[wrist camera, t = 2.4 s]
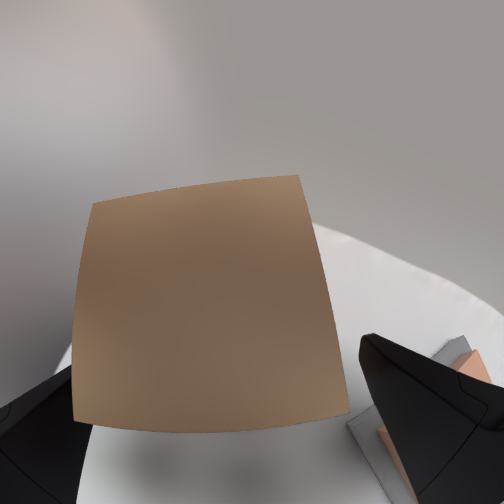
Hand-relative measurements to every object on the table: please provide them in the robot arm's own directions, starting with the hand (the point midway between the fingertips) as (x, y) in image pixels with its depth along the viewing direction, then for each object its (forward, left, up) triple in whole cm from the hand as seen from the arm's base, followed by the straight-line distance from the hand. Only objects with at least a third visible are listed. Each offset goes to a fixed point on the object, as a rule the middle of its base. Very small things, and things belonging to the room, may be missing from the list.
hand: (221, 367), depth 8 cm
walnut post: (+1, 0, -9) cm, 9 cm away
